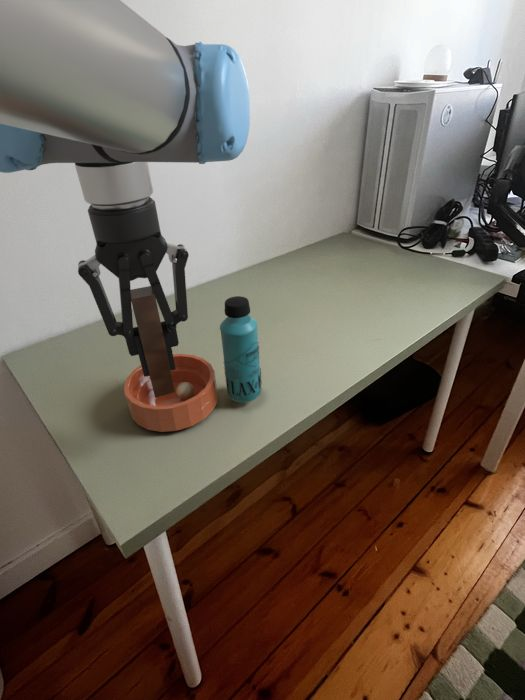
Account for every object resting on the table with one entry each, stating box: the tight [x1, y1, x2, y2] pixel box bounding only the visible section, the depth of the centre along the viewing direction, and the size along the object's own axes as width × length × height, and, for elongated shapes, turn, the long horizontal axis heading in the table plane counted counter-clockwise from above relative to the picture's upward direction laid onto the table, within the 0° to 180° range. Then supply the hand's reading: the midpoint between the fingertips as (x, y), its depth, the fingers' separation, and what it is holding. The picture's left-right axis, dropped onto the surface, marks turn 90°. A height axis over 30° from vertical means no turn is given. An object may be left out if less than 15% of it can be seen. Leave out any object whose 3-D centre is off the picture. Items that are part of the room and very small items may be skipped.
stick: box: [130, 285, 175, 397], centre depth 60 cm, size 3×3×16 cm
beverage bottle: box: [219, 295, 263, 403], centre depth 74 cm, size 6×7×20 cm
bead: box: [176, 382, 194, 400], centre depth 78 cm, size 3×3×3 cm
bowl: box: [123, 353, 219, 433], centre depth 77 cm, size 16×16×6 cm
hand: (158, 367), depth 62 cm, fingers closed on stick, 3 cm apart
